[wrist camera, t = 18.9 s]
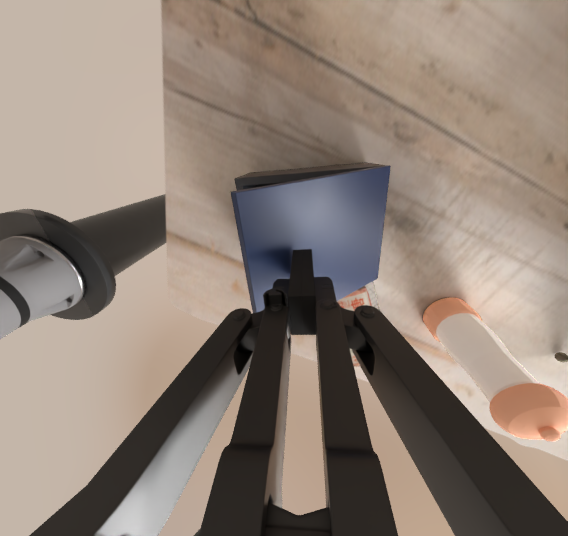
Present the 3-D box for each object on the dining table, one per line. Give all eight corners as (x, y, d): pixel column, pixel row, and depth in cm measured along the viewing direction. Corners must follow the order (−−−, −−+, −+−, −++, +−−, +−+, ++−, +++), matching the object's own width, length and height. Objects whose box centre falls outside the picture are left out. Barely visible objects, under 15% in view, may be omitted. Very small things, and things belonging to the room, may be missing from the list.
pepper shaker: (436, 336, 41) (529, 465, 24) (414, 313, 39) (498, 435, 22) (476, 315, 39) (612, 443, 22) (455, 289, 37) (585, 407, 20)
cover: (257, 338, 20) (262, 343, 19) (230, 191, 14) (235, 192, 14) (371, 276, 28) (377, 278, 27) (383, 165, 22) (390, 165, 22)
